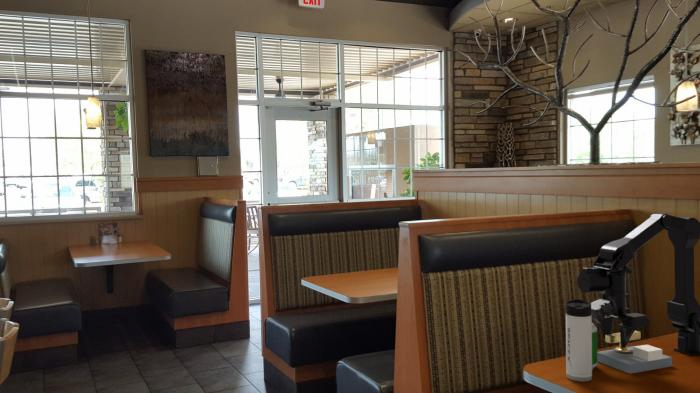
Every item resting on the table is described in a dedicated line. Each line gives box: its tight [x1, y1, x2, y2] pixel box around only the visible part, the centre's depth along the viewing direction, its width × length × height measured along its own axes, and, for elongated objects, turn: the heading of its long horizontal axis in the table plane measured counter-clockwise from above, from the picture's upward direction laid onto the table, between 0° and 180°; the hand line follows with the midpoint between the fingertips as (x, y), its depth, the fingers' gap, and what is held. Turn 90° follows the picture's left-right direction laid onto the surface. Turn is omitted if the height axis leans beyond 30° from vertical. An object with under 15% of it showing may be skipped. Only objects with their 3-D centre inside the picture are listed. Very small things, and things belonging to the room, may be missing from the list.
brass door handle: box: [604, 330, 642, 353], centre depth 166 cm, size 4×11×5 cm, turn 110°
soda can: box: [592, 322, 598, 370], centre depth 160 cm, size 8×8×12 cm
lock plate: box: [597, 345, 673, 374], centre depth 162 cm, size 15×12×3 cm
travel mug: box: [565, 298, 593, 383], centre depth 152 cm, size 6×7×20 cm
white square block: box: [633, 344, 663, 361], centre depth 160 cm, size 5×5×3 cm
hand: (615, 345), depth 164 cm, fingers open, 6 cm apart
